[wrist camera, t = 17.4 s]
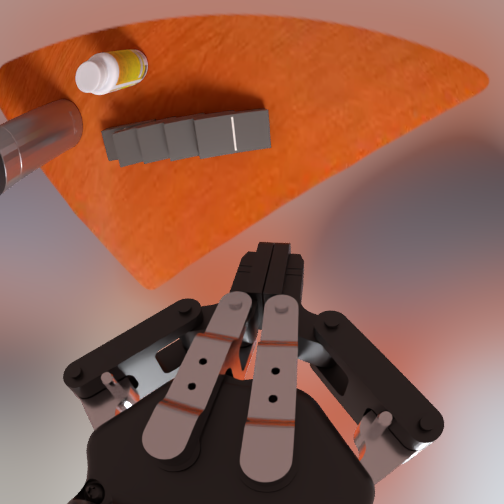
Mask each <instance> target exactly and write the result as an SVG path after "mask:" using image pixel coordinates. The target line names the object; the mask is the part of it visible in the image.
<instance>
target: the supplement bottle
mask: <svg viewBox="0 0 504 504" xmlns="http://www.w3.org/2000/svg"><path fill="white" fill-rule="evenodd" d="M147 69H148V62H147V59H146V57H145V55H144V54H143V53H142V52H140V51H139V50H135V49H128V50H118V51H111V52H102V53H98V54H95V55H93V56H92V57H91V58H90V59H89V60H88V61H86V62H84V63H82V64H81V65H80V66H79V68H78V69H77V72H76V84H77V86H78V88H79V89H80V90H81V91H83V92H86V93H89V92H91V93H93V94H96V95H103V94H107V93H110V92H113V91H116V90H119V89H122V88H126V87H129V86H132V85H135V84H137V83H139V82H140V81H141V80H142V79H143V78H144V77H145V75H146V73H147Z"/></svg>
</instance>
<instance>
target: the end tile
mask: <svg viewBox="0 0 504 504" xmlns="http://www.w3.org/2000/svg"><path fill="white" fill-rule="evenodd" d="M153 121H156V119H153V120H147V121H142V122H136V123H131V124H126V125H121V126H116V127H112V128H107V129H105V130H103V131H101V132H102V136H103V140H104V145H105V148H106V152H107V156H108V160H109V161H112V160H118V156H117V152H116V148H115V145H114V141H113V137H112V134H113V133H114V132H116V131H120V130H123V129H127V128H130V127H134V126H138V125H141V124H145V123H149V122H153Z"/></svg>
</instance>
